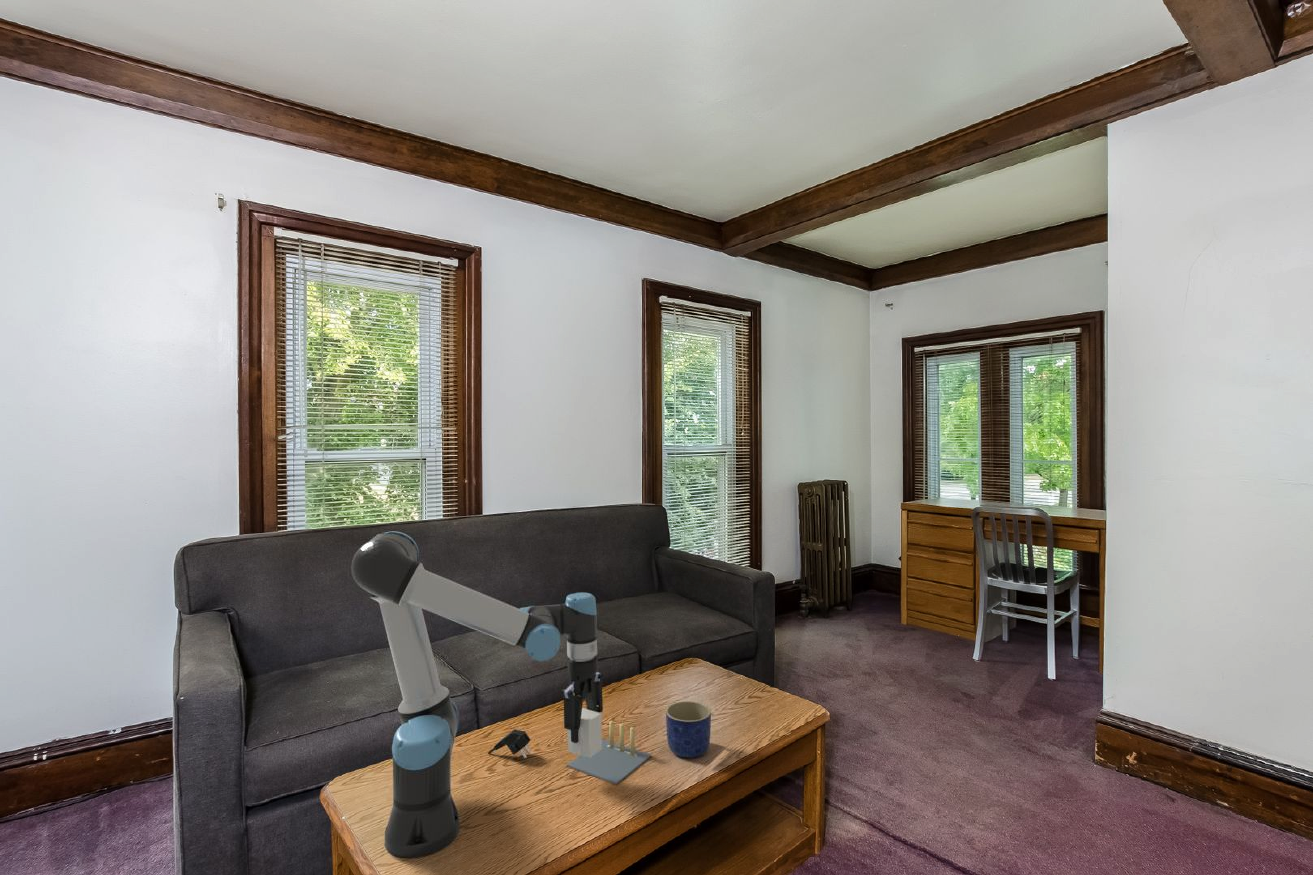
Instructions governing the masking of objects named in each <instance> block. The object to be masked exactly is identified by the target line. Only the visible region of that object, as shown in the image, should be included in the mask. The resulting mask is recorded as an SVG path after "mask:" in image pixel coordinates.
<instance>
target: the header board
mask: <svg viewBox="0 0 1313 875" xmlns="http://www.w3.org/2000/svg"><path fill="white" fill-rule="evenodd" d="M608 723H609V725H608V726H609V733H608V734H609V737H608V738H609V740H608V739H602V750H600V751H599V752H597V753H596V754H595V755H593V756H592V757H590V758H588V757H585V756H579V755H578V757H576V758H575V759H574V760H572V761H570V762H569V763H568V764H566V767H567V768H570V769H573V770H576V771H578V772H581V773H584V774H586V775H589V776H592V777H594V778H596V779H600V780H602V781H605V782H607V783H610V784H613V785H618V784H619V783H620V782H622V781H623V780H624V779H625V778H627V777H628V776H629V775H630V774H631V773H632V772H634V771H635V770H637V768H639V767H641V765H643V764H644V763H645V762H646V761H647V760H649V759H650V758H651V757H652V754H650V753H648V752H644V751H641V750H638V749H636V748H635V746H636V744H635V737H636V736H635V727H633V726H631V727H630V728H629V741H630V742H629V743H630V744H629V746H626V745H625V725H624V723H621V724H619V743H617V742H615V741H614V740H615V728H614V727H615V725H614V720H610V721H609V722H608Z"/></svg>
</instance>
